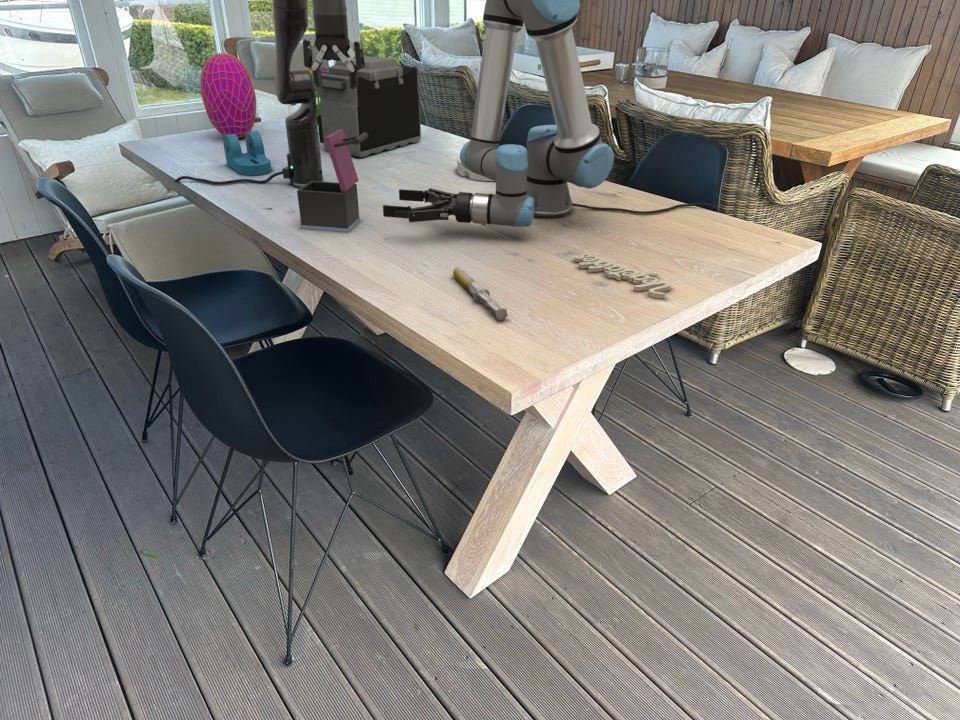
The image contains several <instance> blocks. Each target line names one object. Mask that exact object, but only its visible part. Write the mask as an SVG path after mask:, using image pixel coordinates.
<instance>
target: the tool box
mask: <svg viewBox="0 0 960 720" xmlns="http://www.w3.org/2000/svg"><path fill="white" fill-rule="evenodd" d="M352 59H353V61H354V62H355V64H356V58H355V56H353V57H352ZM364 61H365V67H364V68H362V69H360V70H358V72H357V74H358V86H356V88H355V89H351V88H350V78H349V72H350V70H349V69H348V67H347V66H346V65H345V64H344V63H343V62H342V60H340V61H335V63H334V64H333V65H330V66H329V67H328V69H329V70H328V71H326V72H321V74H322V84H323V86H322V87H317V86H316V85H315V91H316V93H317V94H318V96H319V103H320V111H321V115H319V116H318V117H317V120H318V123H317V127H318V137H319V144H323V146H324V149H325V150H327V151H328V148H327V144H326V141H325V138H326V137H327V136H329V135H331V134H333V133H334V132H336V131H338V130H342V129H343V132H344V135H345V138H349V137H354V136H359V135H361V134H363V133H364V132H366V133H368V138H367V139H365V140H364V141H362V142H361V143H359V144H358V145H355V144H349V145H348V148H349V151H350V154H351V156H353V157H357V158H362V159H363V158H366V157H367V158H368V157H369V155H371V154H375V155H377V154H381V153H382V152H383V151H391V150H395V149H396V148H397V147H405V146H407V145H408V144H416V143H418V142H419V141H421V137H422V128H421V97H420V92H419V91H420V89H419V68H418V67H417V66H408V65H400V64H396V62H395V60H394V59H393V58H385V57H377V56H367V55H364ZM311 73H312V75H313V72H311ZM351 141H352V140H351ZM346 142H347V141H346Z"/></svg>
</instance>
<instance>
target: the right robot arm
mask: <svg viewBox="0 0 960 720" xmlns="http://www.w3.org/2000/svg"><path fill="white" fill-rule="evenodd" d="M581 1H582V0H485V4H484V9H483V15H482V23H483V24H484V26H485V31H484V39H483V46H482V52H481V60H480V67H479V73H478V80H477V89H476V95H475V102H474V108H473V117H472V123H471V131H470V139H469V140H468V141H467V142H465V143H464V144H463V146H462V148H461V150H460V151H459V156H460V161H461V163H462V165H463V166H464V167H465V168H466V169H468V170H470V171H472V172H473V173H475V174H479V175H482V176H484V177H487V178H489V179H491V180H494V181H493V182H495V193H486V192H485V193H483V192H475V193H472V192H468V191H467V192H466V191H465V192H464V191H459V192H458V193H452V192H448V191H443V190H439V189H436V188H431V187H429V188H428V189H425V190H416V189H404V188H403V189H402V188H401V189H398V199H399V200H398V201H405V202H407V201H408V202H421V203H423V202H424V203H425V204H426V203H427V204H428V203H431V204H430V205H423V206H417V207H412V206H410V205H407V206H403V205H402V206H401V205H387V204H384V205H382V214H383V216H382V217H384V218H397V219H408V222H409V223H419V222H420V223H421V222H430V221H448V220H449V216H454V218H455V221H456V222H457V223H461V224H462V223H463V224H471V222H472V223H473V224H480V225H481V226H486V225H492V226H493V225H495V226H505V227H512V228H516V227H517V228H524V227H525V228H526V227H530V226H532V223H533V221H534V217H535V218H543V219H545V218H548V219H549V218H550V219H551V218H559V217H564V216H568V215H569V214H571V213H572V211H573V207H577V208H583V209H590V210H596V211H613V212H625V213H631V214H636V215H637V214H639V215H650V214H651V215H652V214H657V213H663V212H668V211H671V210H675V209H677V208H678V209H679V208H682V207H697V206H706V207H709V208H711V209H713V210H715V212H720V210H719V208H717V207H716V206H715V205H713V204H711V203H706V202H694V203H680V204H676V205H672V206H669V207H665V208H660V209H656V210H643V211H642V210H633V209H627V208H621V207H620V208H619V207H601V206H600V207H599V206H590V205H585V204H580V203H573V201H572V197H571V193H570V189H569V185H568V183H569V184H572V185H575V186H576V187H579V188H585V189H595V188H597V187H599V186H600V185H602V184H603V183H604V182H605V180H607V178H608V177H609V176H610V172H611V171H612V168H613V166H614V161H615V154H614V151H613V149H612V147H611V146H610V145H609V144H607V143H605V142H603V140H602V137H601V132H600V128H599V127H598V126H597V124H594V123H592V118H591V113H590V108H589V104H588V99H587V94H586V93H587V92H586V89H585V84H584V79H583V74H582V70H581V65H580V59H579V54H578V50H577V44H576V40H575V35H574V30H573V28H574V26H575V24H576V22H577V21H578V16H577V14H578V12H579V10H580V8H581ZM523 27H525V30H526V34H527V36H528V37H530V38H532V39H534V40H535V43H536V48H537V52H538V56H539V60H540V64H541V68H542V73H543V76H544V81H545V84H546V89H547V93H548V94H547V95H548V97H549V101H550V102H549V103H550V105H551V110H552V114H553V118H554V122H555V124H544V125H537V126H533V127H531V128H530V129H529V130H528V133H527V141H526V147H525V146H523V145H521V144H514V143H509V144H507V143H506V144H501V145H500V142H501V136H502V129H503V123H504V117H505V110H506V106H507V105H506V104H507V98H508V92H509V87H510V80H511V76H512V75H511V74H512V68H513V63H514V55H515V50H516V43H517V37H518V33H519V32H520V31H521V30H522V29H523Z"/></svg>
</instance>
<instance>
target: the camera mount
mask: <svg viewBox="0 0 960 720" xmlns="http://www.w3.org/2000/svg"><path fill="white" fill-rule="evenodd" d="M244 137H245V146H246V152H243V151H242V150H243V149H242V146H241V142H240V140H239V138H237V136H236V135H235V134H230V135H224V136H223V138H222V140H223V141H222V143H223V149H224V150H223V151H224V156H225V161H226V165H227V166H228V167H230V168H231V169H232V170H234V171H236V172H237V173H238V174H239V175H244V176H260V175H265V174H268V173H271V172H272V164H271V159H270V158H268V157H267V156H266V153H265V145H264V141H263V139H262V136H261V134H260V132H258V131H250V132H247V133H246V136H244Z"/></svg>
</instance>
